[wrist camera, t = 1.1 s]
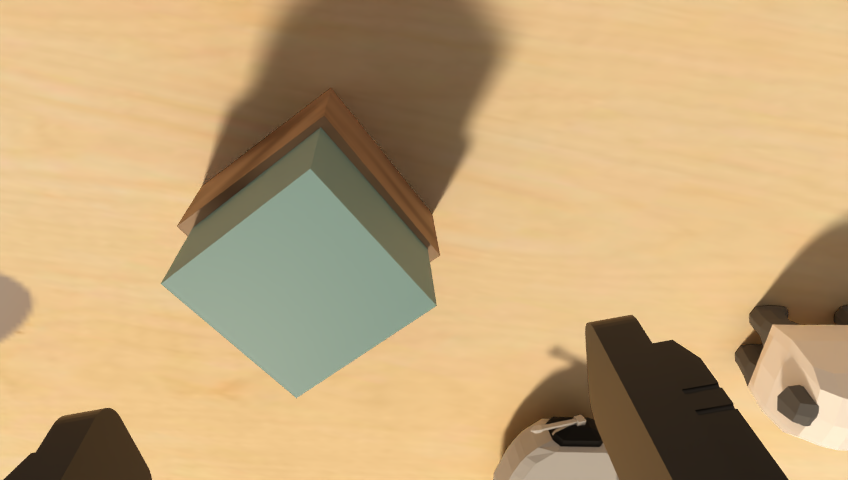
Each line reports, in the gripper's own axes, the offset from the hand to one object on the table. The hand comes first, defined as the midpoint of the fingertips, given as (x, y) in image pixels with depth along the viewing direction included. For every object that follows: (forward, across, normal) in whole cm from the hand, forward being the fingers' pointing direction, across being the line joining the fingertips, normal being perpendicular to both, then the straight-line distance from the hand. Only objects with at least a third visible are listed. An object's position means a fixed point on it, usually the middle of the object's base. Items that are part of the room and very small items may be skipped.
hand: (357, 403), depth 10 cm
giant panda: (+24, -26, +22) cm, 42 cm away
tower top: (+19, +4, +6) cm, 20 cm away
